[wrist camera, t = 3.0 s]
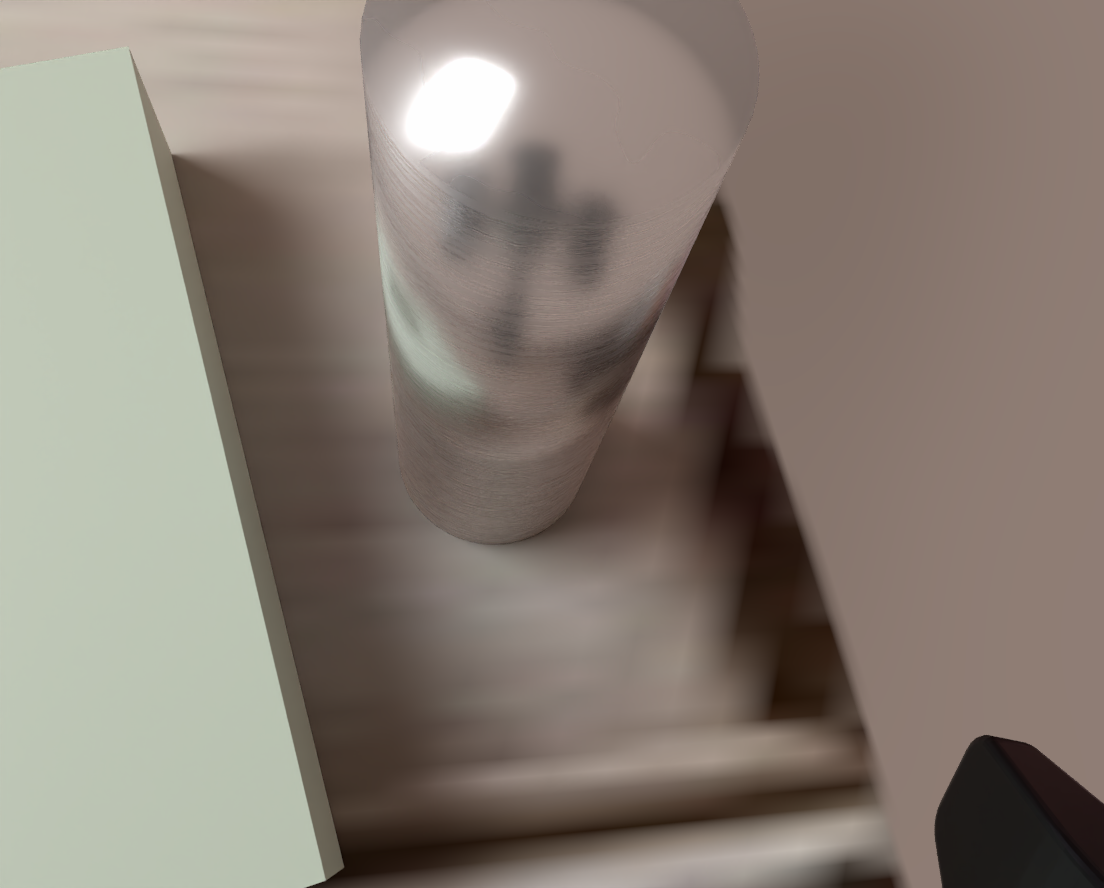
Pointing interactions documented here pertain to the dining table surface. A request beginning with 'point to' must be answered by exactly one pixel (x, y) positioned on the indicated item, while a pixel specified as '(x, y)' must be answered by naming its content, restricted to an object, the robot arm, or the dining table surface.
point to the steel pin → (536, 225)
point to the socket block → (130, 529)
